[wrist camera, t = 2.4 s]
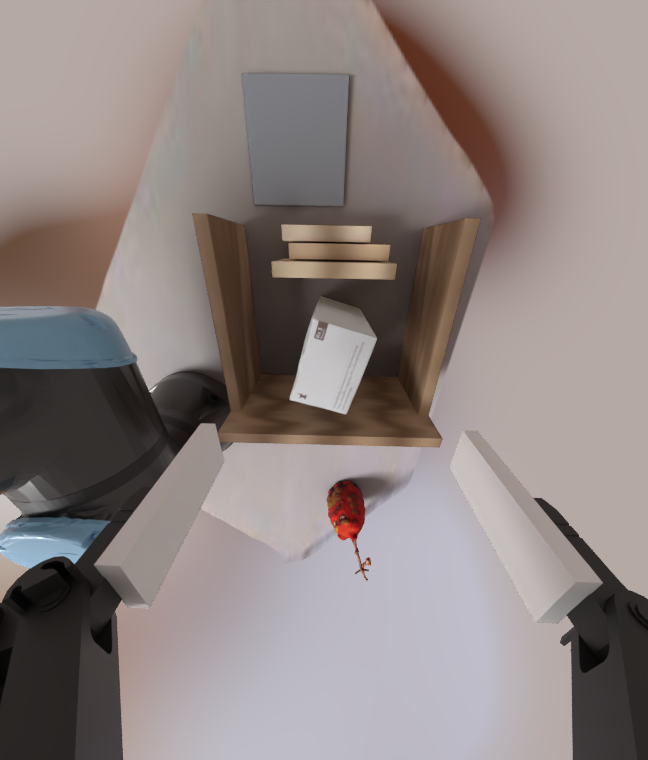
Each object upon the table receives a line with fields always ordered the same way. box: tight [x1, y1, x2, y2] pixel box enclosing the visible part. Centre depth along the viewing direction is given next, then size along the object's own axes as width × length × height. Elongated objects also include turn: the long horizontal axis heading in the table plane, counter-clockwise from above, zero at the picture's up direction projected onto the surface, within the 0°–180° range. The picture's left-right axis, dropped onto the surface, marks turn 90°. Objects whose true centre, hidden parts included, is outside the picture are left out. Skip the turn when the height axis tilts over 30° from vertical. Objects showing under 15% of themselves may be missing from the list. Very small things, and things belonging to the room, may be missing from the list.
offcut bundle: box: [271, 225, 397, 280], centre depth 26 cm, size 12×5×8 cm, turn 89°
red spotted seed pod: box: [327, 480, 371, 581], centre depth 43 cm, size 8×7×15 cm
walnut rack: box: [192, 213, 481, 447], centre depth 27 cm, size 23×21×14 cm
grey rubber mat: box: [242, 73, 349, 207], centre depth 25 cm, size 10×10×1 cm
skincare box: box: [290, 296, 377, 414], centre depth 28 cm, size 8×6×15 cm
